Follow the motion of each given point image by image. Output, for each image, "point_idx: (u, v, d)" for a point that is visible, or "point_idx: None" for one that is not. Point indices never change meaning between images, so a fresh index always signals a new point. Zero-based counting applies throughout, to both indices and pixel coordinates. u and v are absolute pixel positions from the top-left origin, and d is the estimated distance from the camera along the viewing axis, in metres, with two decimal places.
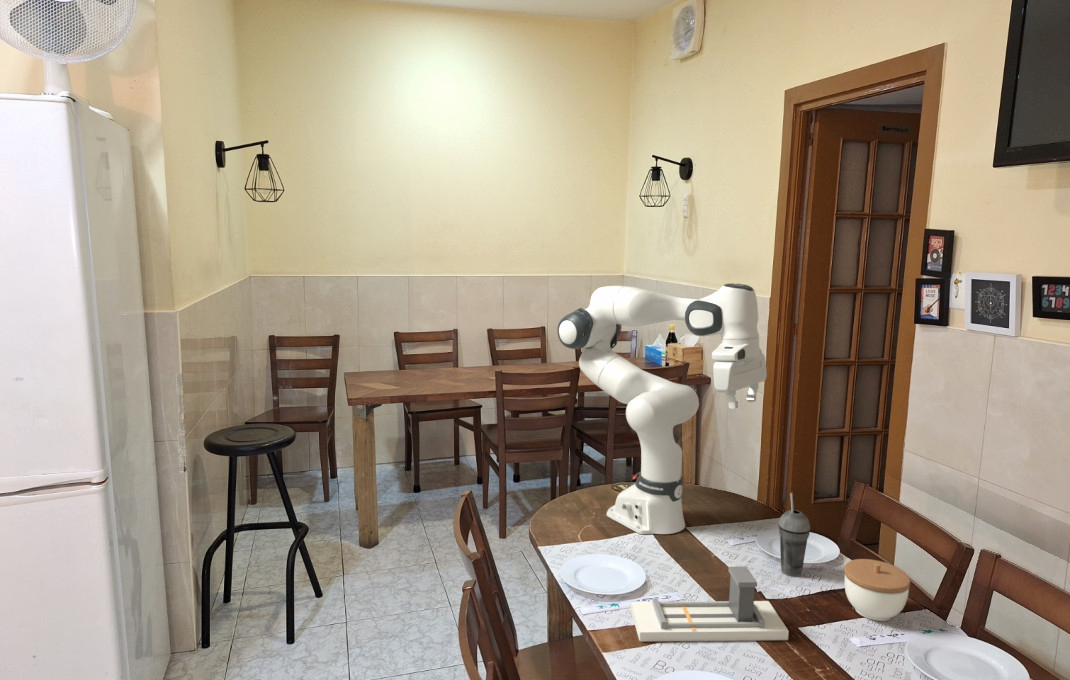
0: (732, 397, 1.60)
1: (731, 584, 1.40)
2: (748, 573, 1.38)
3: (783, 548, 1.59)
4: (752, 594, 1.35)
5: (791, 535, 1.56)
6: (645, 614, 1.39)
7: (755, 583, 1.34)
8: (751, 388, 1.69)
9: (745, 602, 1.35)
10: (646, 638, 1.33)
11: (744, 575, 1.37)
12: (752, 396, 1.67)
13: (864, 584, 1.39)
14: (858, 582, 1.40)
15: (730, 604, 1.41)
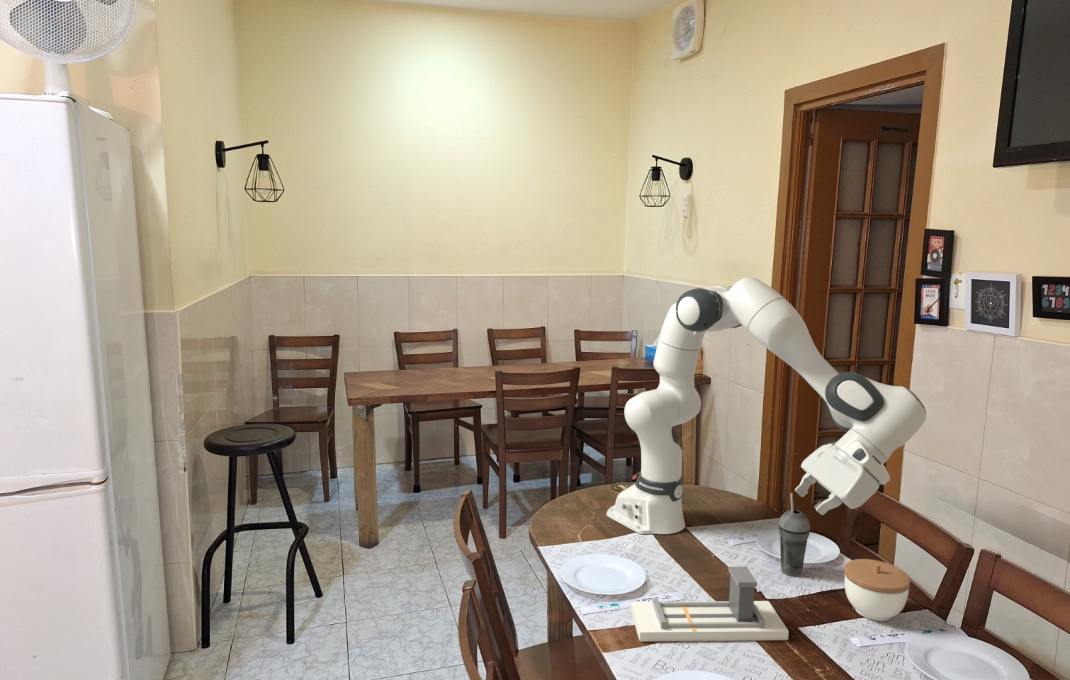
0: (834, 506, 1.29)
1: (731, 584, 1.40)
2: (748, 573, 1.38)
3: (783, 548, 1.59)
4: (752, 594, 1.35)
5: (791, 535, 1.56)
6: (645, 614, 1.39)
7: (755, 583, 1.34)
8: (806, 480, 1.41)
9: (745, 602, 1.35)
10: (646, 638, 1.33)
11: (744, 575, 1.37)
12: (806, 492, 1.39)
13: (864, 584, 1.39)
14: (858, 582, 1.40)
15: (730, 604, 1.41)
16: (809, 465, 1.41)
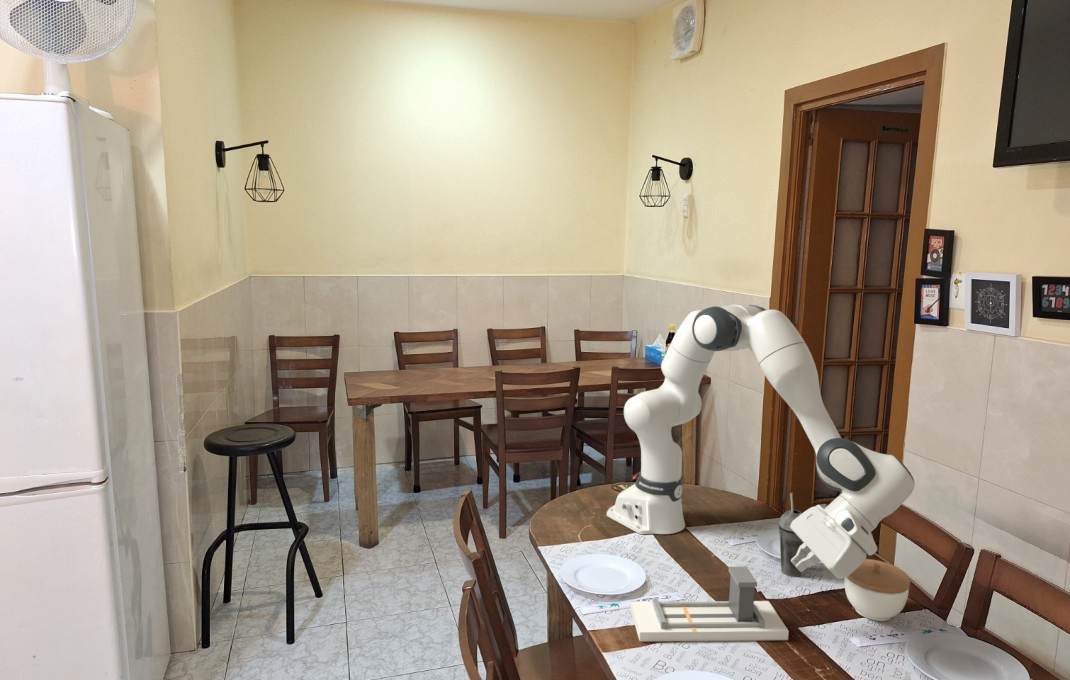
0: (813, 564, 1.35)
1: (731, 584, 1.40)
2: (748, 573, 1.38)
3: (783, 548, 1.59)
4: (752, 594, 1.35)
5: (791, 535, 1.56)
6: (645, 614, 1.39)
7: (755, 583, 1.34)
8: (802, 551, 1.39)
9: (745, 602, 1.35)
10: (646, 638, 1.33)
11: (744, 575, 1.37)
12: None
13: (864, 584, 1.39)
14: (858, 582, 1.40)
15: (730, 604, 1.41)
16: (798, 527, 1.43)
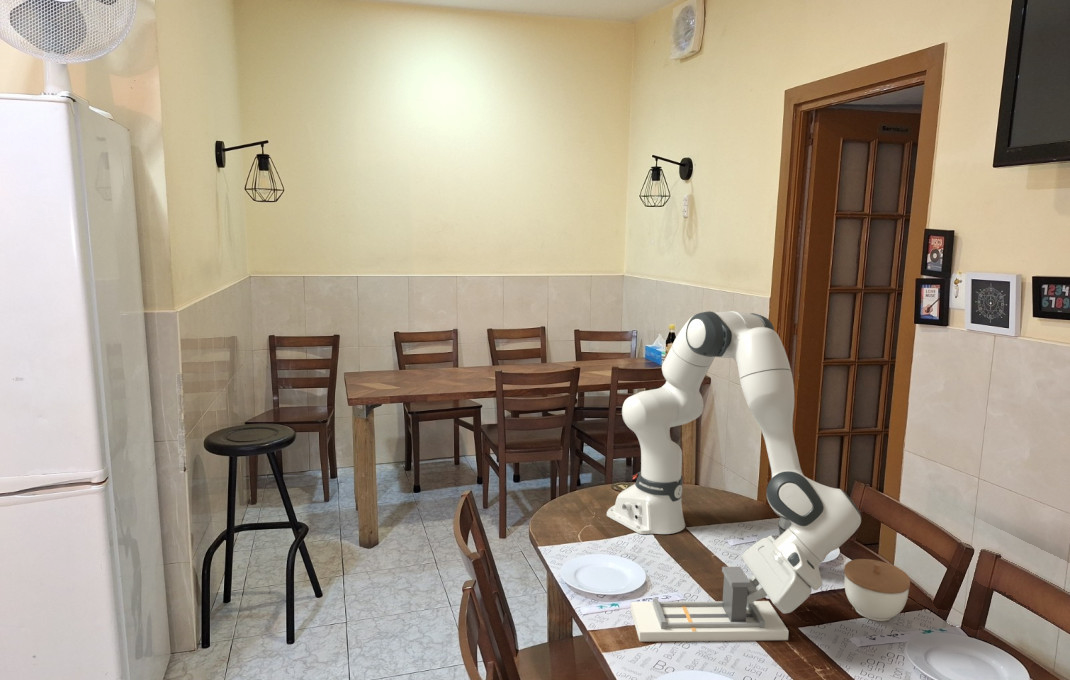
0: (761, 597, 1.36)
1: (724, 584, 1.40)
2: (741, 573, 1.38)
3: None
4: (745, 594, 1.35)
5: None
6: (645, 614, 1.39)
7: (748, 583, 1.34)
8: (752, 583, 1.40)
9: (738, 602, 1.35)
10: (646, 638, 1.33)
11: (738, 575, 1.37)
12: None
13: (864, 584, 1.39)
14: (858, 582, 1.40)
15: (724, 604, 1.41)
16: (749, 558, 1.44)
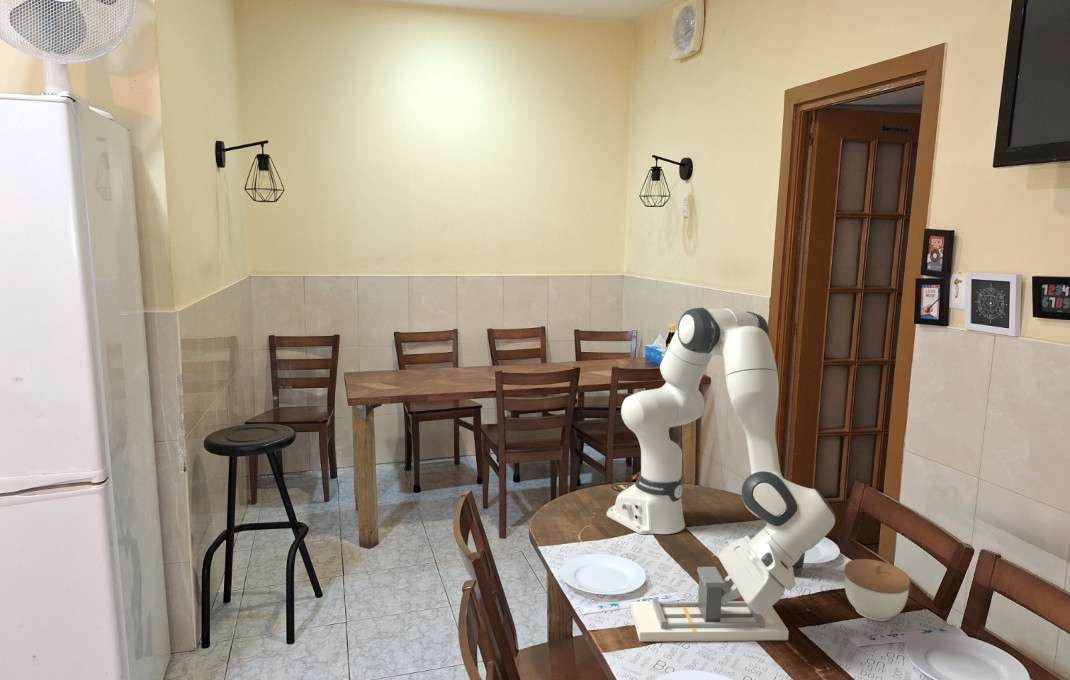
0: (736, 597, 1.36)
1: (699, 584, 1.40)
2: (716, 573, 1.38)
3: None
4: (719, 594, 1.35)
5: None
6: (645, 614, 1.39)
7: (722, 583, 1.34)
8: (727, 583, 1.40)
9: (712, 602, 1.35)
10: (646, 638, 1.33)
11: (712, 575, 1.37)
12: None
13: (864, 584, 1.39)
14: (858, 581, 1.40)
15: (699, 604, 1.41)
16: (725, 559, 1.44)
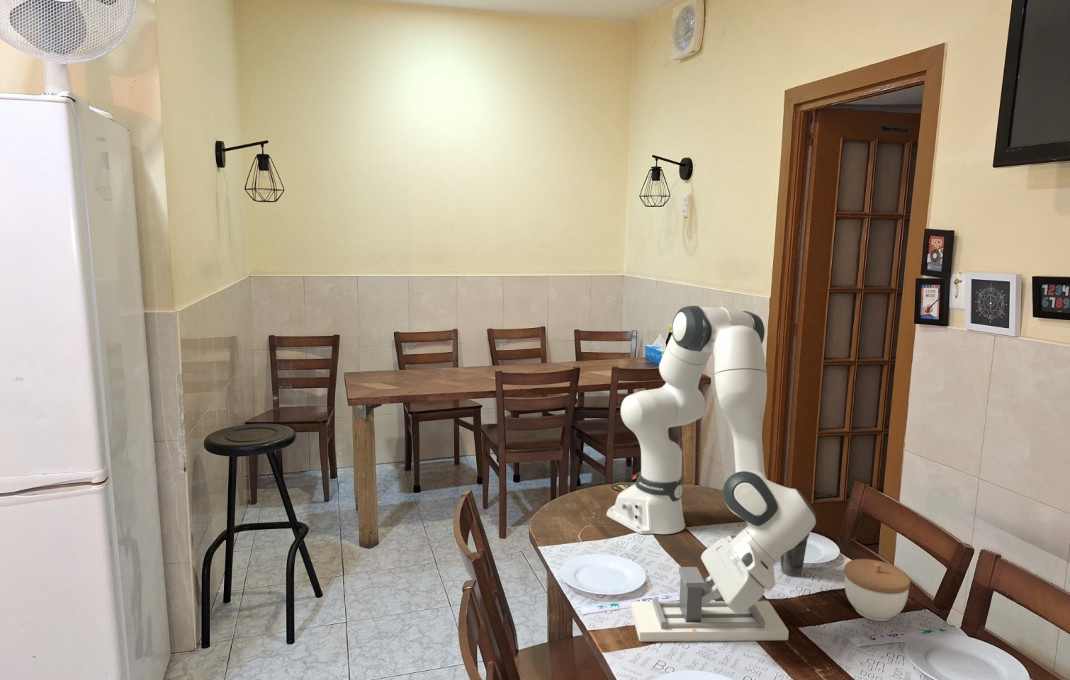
0: (716, 597, 1.36)
1: (681, 584, 1.40)
2: (697, 573, 1.38)
3: None
4: (700, 594, 1.35)
5: None
6: (645, 614, 1.39)
7: (703, 583, 1.34)
8: (708, 583, 1.39)
9: (693, 602, 1.35)
10: (646, 638, 1.33)
11: (693, 575, 1.37)
12: None
13: (864, 584, 1.39)
14: (858, 582, 1.40)
15: (680, 604, 1.41)
16: (707, 559, 1.44)
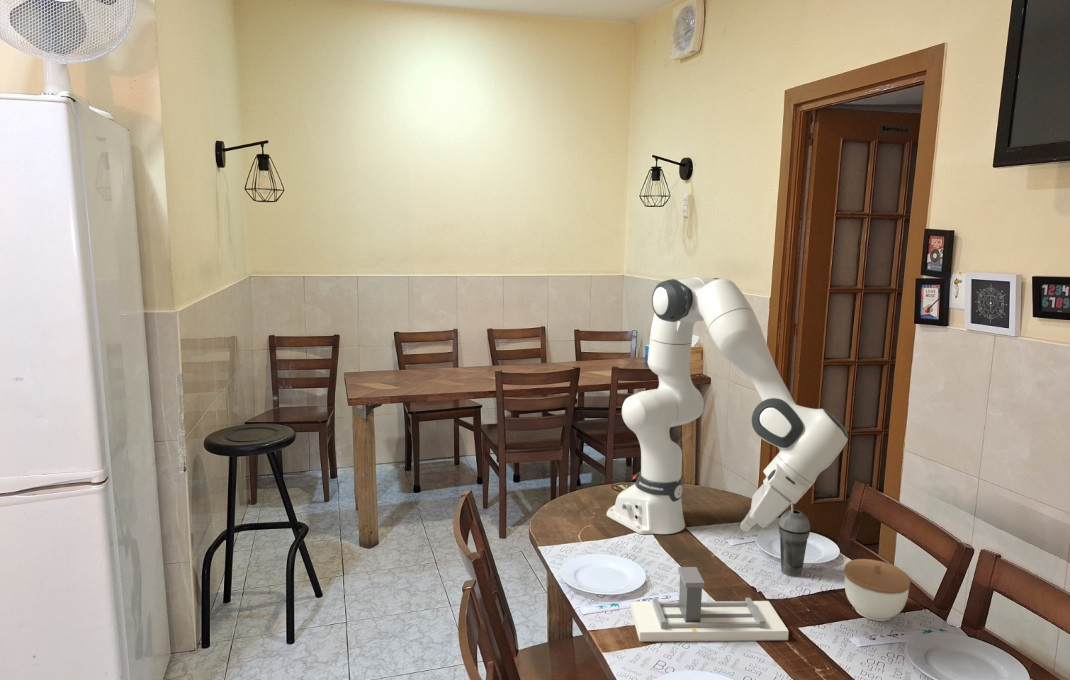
0: (754, 523, 1.37)
1: (680, 584, 1.40)
2: (697, 573, 1.38)
3: (783, 548, 1.59)
4: (700, 594, 1.35)
5: (791, 535, 1.56)
6: (645, 614, 1.39)
7: (702, 583, 1.34)
8: None
9: (692, 602, 1.35)
10: (646, 638, 1.33)
11: (693, 575, 1.37)
12: None
13: (864, 584, 1.39)
14: (858, 582, 1.40)
15: (680, 604, 1.41)
16: (754, 495, 1.46)
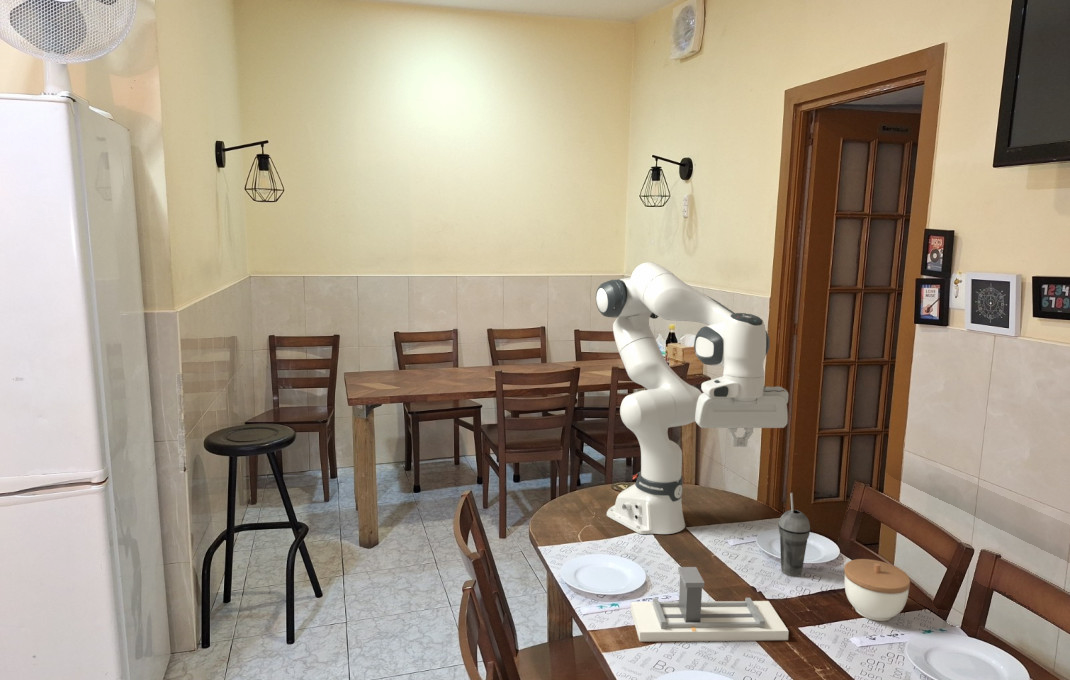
0: (731, 434, 1.50)
1: (680, 584, 1.40)
2: (697, 573, 1.38)
3: (783, 548, 1.59)
4: (700, 594, 1.35)
5: (791, 535, 1.56)
6: (645, 614, 1.39)
7: (702, 583, 1.34)
8: (746, 431, 1.51)
9: (692, 602, 1.35)
10: (646, 638, 1.33)
11: (693, 575, 1.37)
12: (740, 440, 1.50)
13: (864, 584, 1.39)
14: (858, 582, 1.40)
15: (680, 604, 1.41)
16: None
